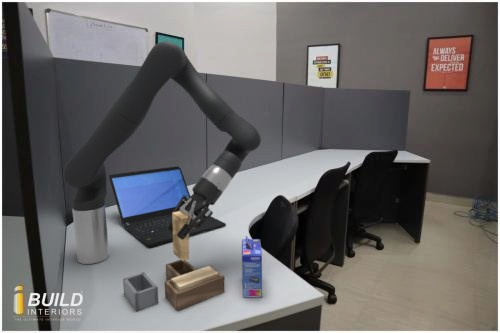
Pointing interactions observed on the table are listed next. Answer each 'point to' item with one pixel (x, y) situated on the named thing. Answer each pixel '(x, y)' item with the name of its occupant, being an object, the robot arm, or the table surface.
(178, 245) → the oak slat
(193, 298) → the tray
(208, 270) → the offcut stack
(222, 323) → the table surface
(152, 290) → the holder
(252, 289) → the ink cartridge box
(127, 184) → the laptop
